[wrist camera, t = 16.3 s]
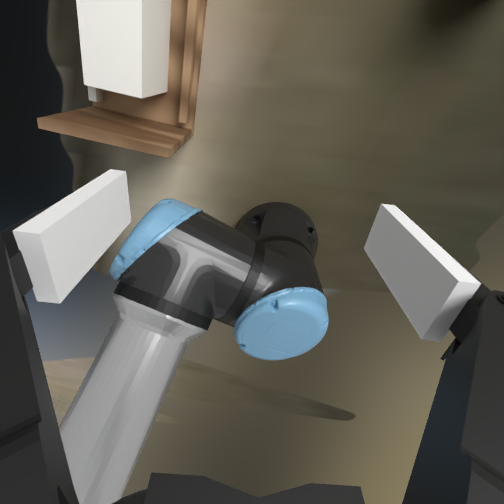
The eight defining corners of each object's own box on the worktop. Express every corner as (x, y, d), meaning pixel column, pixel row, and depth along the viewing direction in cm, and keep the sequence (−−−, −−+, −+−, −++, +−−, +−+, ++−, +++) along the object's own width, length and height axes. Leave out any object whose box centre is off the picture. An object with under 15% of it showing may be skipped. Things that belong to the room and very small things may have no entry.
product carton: (167, 92, 39) (141, 98, 31) (120, 80, 38) (81, 84, 30) (172, -26, 32) (141, -59, 24) (116, -42, 32) (65, -81, 23)
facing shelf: (193, 134, 43) (169, 158, 32) (98, 112, 42) (38, 128, 31) (214, -71, 31) (189, -149, 20) (84, -112, 30) (-23, -221, 19)
